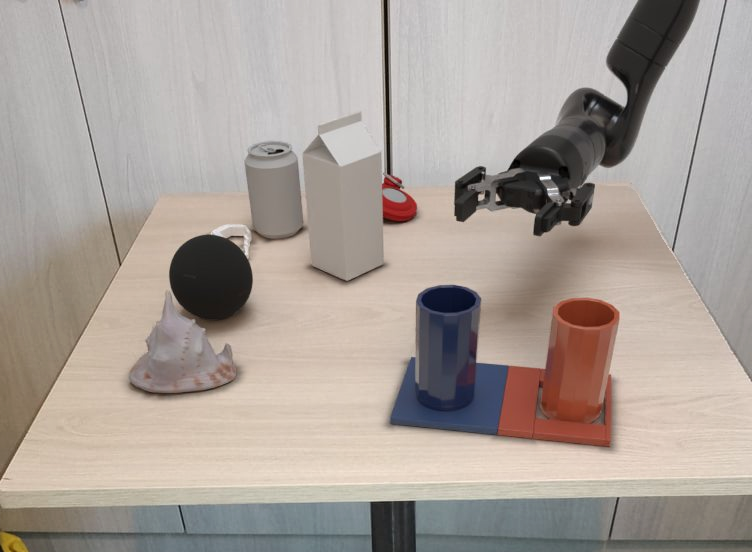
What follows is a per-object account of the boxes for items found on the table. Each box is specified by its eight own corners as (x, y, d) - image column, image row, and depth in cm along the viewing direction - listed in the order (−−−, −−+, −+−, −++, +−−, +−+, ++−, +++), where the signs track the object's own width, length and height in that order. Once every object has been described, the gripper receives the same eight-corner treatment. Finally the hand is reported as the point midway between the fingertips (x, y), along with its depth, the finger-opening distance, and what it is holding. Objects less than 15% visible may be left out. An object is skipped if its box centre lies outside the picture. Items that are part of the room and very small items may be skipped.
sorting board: (609, 380, 88) (611, 374, 88) (609, 446, 79) (611, 440, 79) (411, 362, 92) (411, 356, 92) (390, 424, 83) (390, 417, 83)
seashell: (146, 347, 96) (128, 274, 90) (245, 347, 96) (234, 273, 89) (122, 395, 89) (100, 318, 83) (229, 396, 88) (216, 319, 82)
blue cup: (477, 381, 87) (484, 286, 80) (470, 414, 83) (476, 317, 75) (421, 375, 89) (422, 282, 81) (410, 408, 84) (411, 312, 77)
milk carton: (384, 264, 111) (381, 116, 98) (346, 282, 107) (338, 131, 95) (348, 250, 115) (341, 105, 102) (311, 266, 111) (298, 119, 98)
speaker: (181, 340, 97) (165, 262, 91) (174, 303, 105) (158, 227, 98) (263, 327, 99) (253, 249, 92) (250, 291, 106) (240, 216, 100)
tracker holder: (429, 211, 121) (368, 206, 117) (419, 237, 124) (359, 233, 120) (404, 166, 127) (345, 160, 124) (395, 192, 131) (338, 186, 127)
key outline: (268, 263, 112) (266, 251, 111) (233, 270, 111) (231, 258, 110) (241, 228, 121) (240, 217, 120) (209, 235, 120) (207, 223, 119)
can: (284, 244, 117) (275, 159, 109) (243, 234, 120) (231, 150, 112) (313, 225, 121) (307, 142, 113) (273, 216, 124) (264, 134, 116)
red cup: (601, 394, 86) (619, 299, 79) (600, 429, 82) (619, 332, 74) (542, 388, 87) (554, 294, 80) (538, 422, 83) (551, 326, 75)
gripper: (497, 126, 93) (435, 172, 83) (619, 142, 88) (569, 193, 77) (492, 192, 98) (433, 242, 88) (608, 211, 93) (560, 267, 82)
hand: (497, 219), depth 83 cm, fingers open, 8 cm apart
